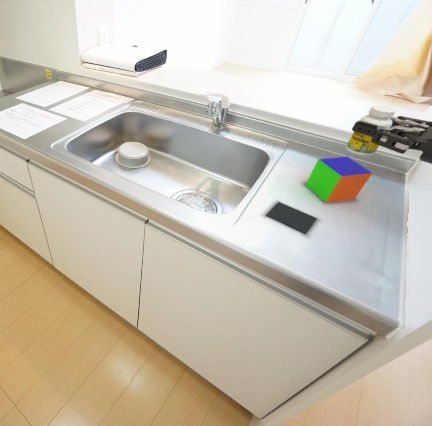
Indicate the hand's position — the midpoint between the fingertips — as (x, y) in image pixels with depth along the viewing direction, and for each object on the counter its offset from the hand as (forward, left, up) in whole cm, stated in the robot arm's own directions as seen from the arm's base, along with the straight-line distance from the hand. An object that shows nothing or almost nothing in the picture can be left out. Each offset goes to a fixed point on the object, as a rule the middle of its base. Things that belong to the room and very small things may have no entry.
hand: (360, 121), depth 61 cm
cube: (-2, -2, -20) cm, 20 cm away
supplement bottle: (-3, 0, -6) cm, 7 cm away
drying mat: (+1, +15, -20) cm, 25 cm away
